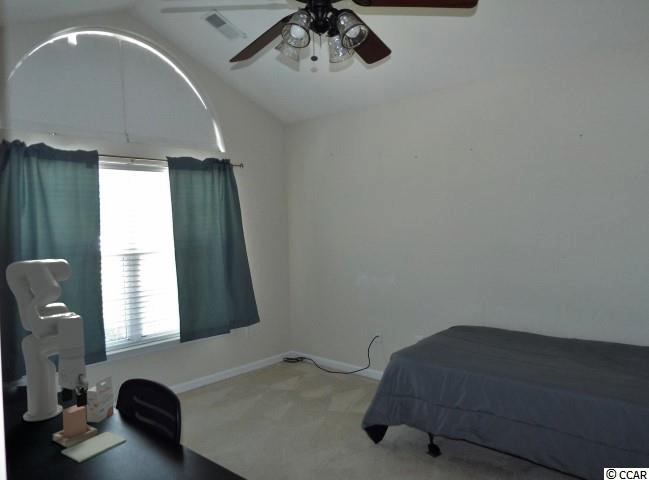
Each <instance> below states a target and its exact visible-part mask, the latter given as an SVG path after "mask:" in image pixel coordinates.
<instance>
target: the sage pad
mask: <svg viewBox="0 0 649 480" xmlns="http://www.w3.org/2000/svg"><path fill="white" fill-rule="evenodd" d="M125 442H127V439H126V438H124V437H122V436H120V435H117V434H115V433H112V432H110V431H107V430H106V431H105V432H103V433H100V434H98V435H96V436H94V437H92V438H89V439H87V440H85V441H82V442H80V443H78V444H75V445H73V446H71V447H68V448H67V447H66V448H65V449H63V450H61V454H62V455H65V456H66V457H68V458H70V459H72V460H74V461H76V462H77V463H82V462H84V461H86V460H88V459H90V458H92V457H95V456H97V455H99V454H101V453H104V452H106V451H108V450H110V449H113V448H114V447H116V446H119V445H120V444H123V443H125Z"/></svg>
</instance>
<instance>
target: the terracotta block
mask: <svg viewBox="0 0 649 480" xmlns="http://www.w3.org/2000/svg"><path fill="white" fill-rule="evenodd" d="M62 421H63V422H62V423H63V426H62V427H63V430H64V437H66V438H68V439H71V438H73V437H76V436H78V435H81V434H83V433H86V432H87V428H86V424H87V407H86V406H81V407H77V404H75V405H72V406H69V407H67V408H63V411H62Z"/></svg>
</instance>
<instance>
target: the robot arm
mask: <svg viewBox="0 0 649 480" xmlns="http://www.w3.org/2000/svg"><path fill="white" fill-rule="evenodd" d="M70 265H71V264H70V263H69V262H68V261H67V260H66V259H64V258H62V259H61V258H48V259H47V258H46V259H29V260H20V261H15V262H12V263H10V264H8V266H7V267H6V269H5V276H6V277H5V278H6V283H7V284H8V286H9V289H10V291H11V292H12V294H13V295H14V297H15V300H16V302H17V308H18V312H19V317H20V322H21V325H22V327H23V329H24V330H25V331H31V334H28V335H27V336H25V337H23V339H22V341H21V349H22V354H23V358H24V362H25V363H24V364H25V377H26V392H27V393H26V395H27V411H26V412H25V413H24V414H23V416H22V417H23V420H24V421H26V422H39V421H44V420H48V419H52V418H54V417H56V416H58V415H60V414H61V413H63V409H64V408H63V406H62V405H60V404H58V385H59V386H60V390H61V402H62V403H65V402H68V401H72V400H73V398H74V397H73V390H75V392H76V395H75V397H76V398H75V400H76V405H77V407H81V406H83V407H85V406H86V405H87V392H88V391H87V390H88V389H89V380H88V379H87V369H86V362H85V356H86V355H85V352H86V351H85V339H84V321H83V319H84V318H83V317H82V316H81V315H79V314H77V313H76V312H73V311H72V312H71V311H70V310H69V308H68V307H67V305H66V304H65V303H63V302H55V301H57V300H59V298H60V297H61V295H62V293H63V290H62V287H61V285H60V282H63V281H64V282H65V281H68V280H70V278H71V277H72V276H71V275H72V268H71V266H70ZM54 355H58V364H57V365H58V366H56V364H55V362H53V361H52V360H50V359H49V357H51V356H54ZM57 372H58V373H57ZM57 374H58V375H57ZM57 376H58V377H57ZM57 378H58V380H57ZM57 382H58V385H57Z"/></svg>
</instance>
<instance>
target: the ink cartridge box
mask: <svg viewBox="0 0 649 480" xmlns="http://www.w3.org/2000/svg"><path fill="white" fill-rule="evenodd" d="M113 390H114V389H113V381H112V376H111V375H108V376H106V377H104V378H102V379H100V380H99V381H97V382H95V385H94V386H92V387H91V388H88V390H87V391H88V392H87V405H85V407H86V423H100V422H101V421H104V420H105V419H106V418H108V417H109V416H111V415H112V414H114V410H115V409H114V393H113Z"/></svg>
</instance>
